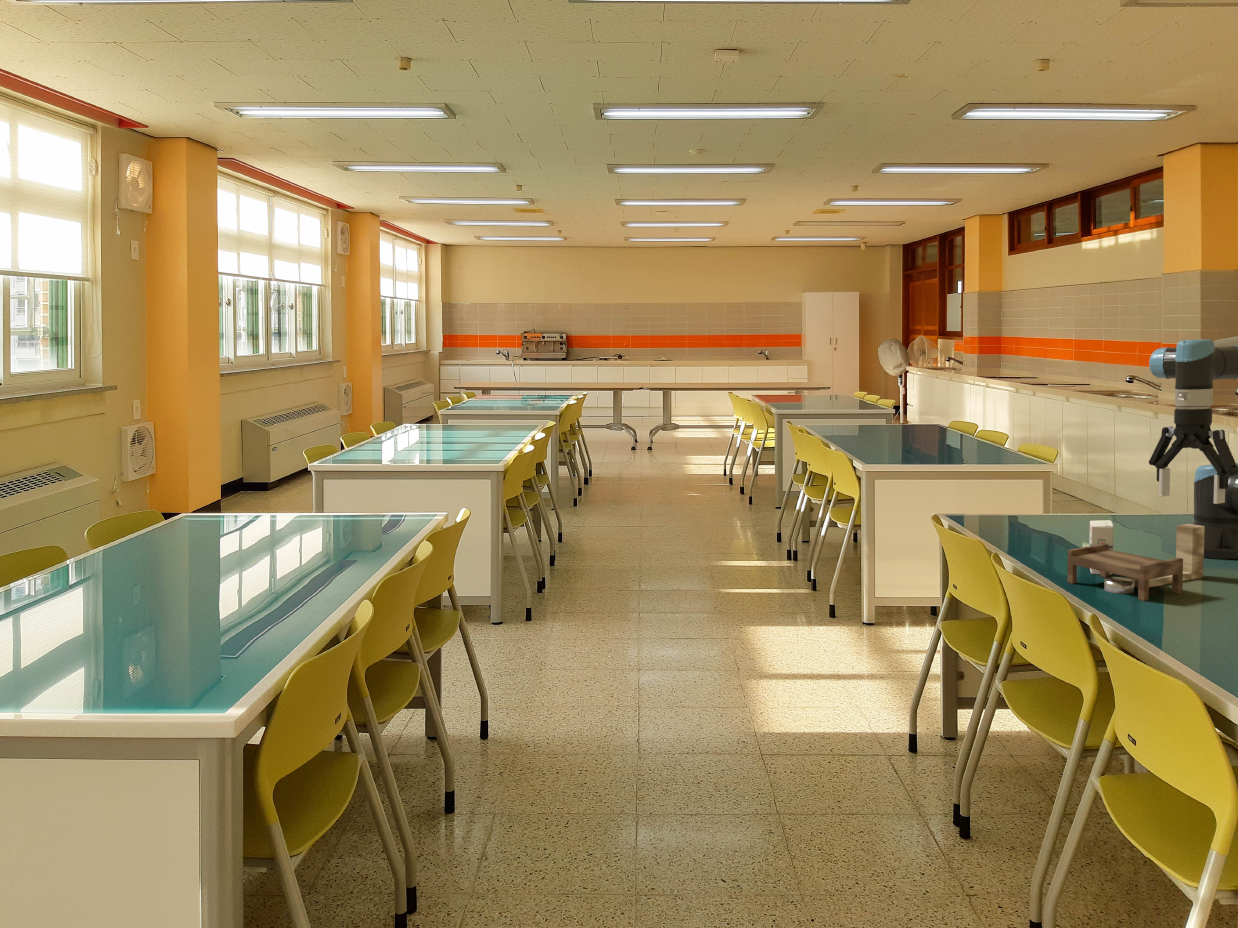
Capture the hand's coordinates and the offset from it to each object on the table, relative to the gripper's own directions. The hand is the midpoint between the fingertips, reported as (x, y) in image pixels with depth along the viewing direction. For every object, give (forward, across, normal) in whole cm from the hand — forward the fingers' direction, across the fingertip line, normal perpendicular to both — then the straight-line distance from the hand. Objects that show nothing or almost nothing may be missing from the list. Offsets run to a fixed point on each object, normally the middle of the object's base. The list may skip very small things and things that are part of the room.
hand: (1190, 499), depth 228 cm
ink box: (+18, -15, -11) cm, 26 cm away
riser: (+18, -1, -20) cm, 27 cm away
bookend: (+18, 0, -8) cm, 20 cm away
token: (+18, 0, -23) cm, 29 cm away
